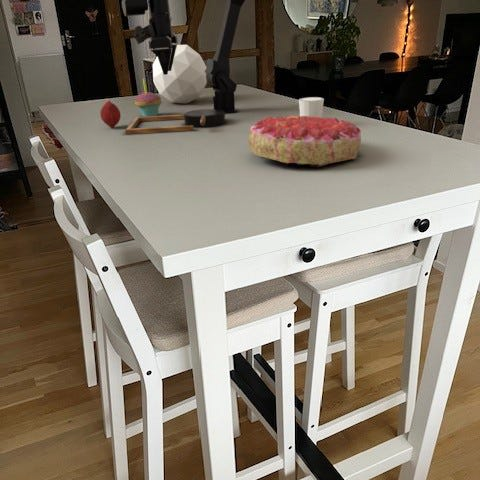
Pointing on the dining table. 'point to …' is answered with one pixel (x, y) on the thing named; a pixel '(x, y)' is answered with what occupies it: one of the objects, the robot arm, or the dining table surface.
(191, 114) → the pan
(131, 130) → the pan rest
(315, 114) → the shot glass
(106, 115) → the onion
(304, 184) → the dining table surface
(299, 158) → the cake
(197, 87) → the geometric orb
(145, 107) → the cupcake
